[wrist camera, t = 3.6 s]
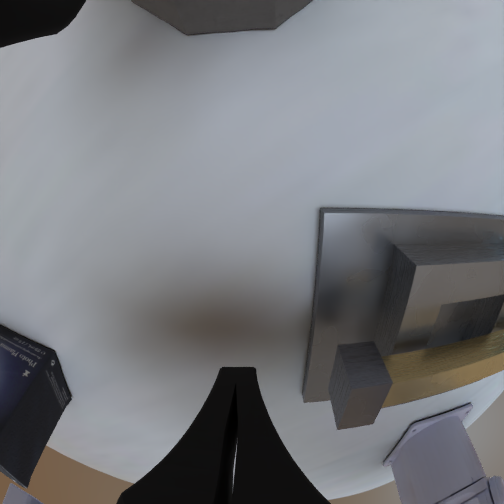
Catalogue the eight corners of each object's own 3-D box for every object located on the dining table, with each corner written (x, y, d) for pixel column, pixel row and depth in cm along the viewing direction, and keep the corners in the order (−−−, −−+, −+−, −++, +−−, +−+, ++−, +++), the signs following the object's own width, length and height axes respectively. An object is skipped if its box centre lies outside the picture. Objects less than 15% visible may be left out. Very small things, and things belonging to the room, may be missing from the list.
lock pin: (529, 338, 12) (546, 358, 9) (327, 388, 12) (337, 429, 10) (544, 303, 10) (564, 323, 8) (337, 344, 11) (351, 389, 8)
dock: (483, 357, 16) (517, 408, 11) (302, 393, 17) (313, 476, 11) (533, 218, 12) (594, 256, 6) (320, 208, 12) (373, 277, 6)
